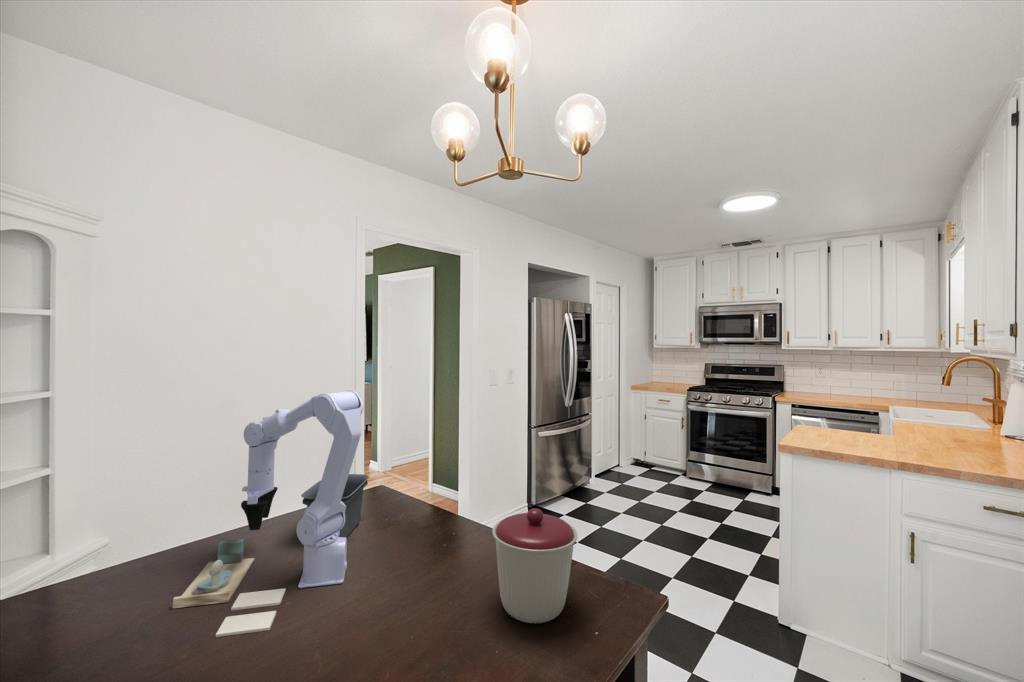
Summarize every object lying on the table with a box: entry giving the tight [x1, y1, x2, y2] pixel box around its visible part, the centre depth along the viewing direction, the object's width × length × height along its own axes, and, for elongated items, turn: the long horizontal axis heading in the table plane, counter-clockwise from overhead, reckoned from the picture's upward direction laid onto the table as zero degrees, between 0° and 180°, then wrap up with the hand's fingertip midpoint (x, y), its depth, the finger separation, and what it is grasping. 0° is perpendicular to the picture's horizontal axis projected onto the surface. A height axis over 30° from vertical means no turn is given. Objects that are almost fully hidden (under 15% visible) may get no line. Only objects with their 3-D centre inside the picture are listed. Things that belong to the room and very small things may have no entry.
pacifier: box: [192, 559, 232, 594], centre depth 97 cm, size 7×6×6 cm
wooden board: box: [172, 538, 255, 609], centre depth 101 cm, size 10×19×5 cm, turn 16°
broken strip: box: [215, 588, 286, 638], centre depth 90 cm, size 9×14×1 cm, turn 16°
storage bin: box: [301, 473, 370, 539], centre depth 128 cm, size 21×16×14 cm
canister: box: [491, 508, 578, 624], centre depth 94 cm, size 18×18×21 cm
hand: (259, 523), depth 111 cm, fingers open, 7 cm apart
